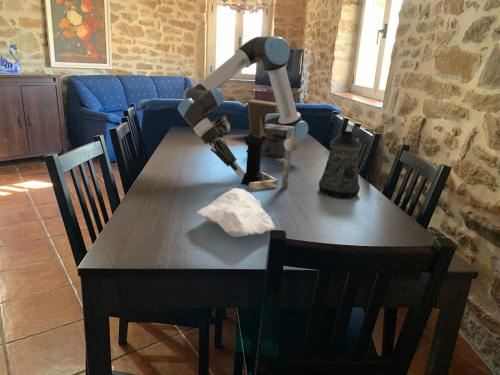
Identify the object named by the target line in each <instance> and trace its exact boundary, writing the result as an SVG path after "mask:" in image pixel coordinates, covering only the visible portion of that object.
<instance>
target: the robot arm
mask: <svg viewBox="0 0 500 375" xmlns="http://www.w3.org/2000/svg"><path fill="white" fill-rule="evenodd" d="M290 54H291V48H290V45H289V43H288V41H287V40H286V39H285V38H283V37H281V36H276V35H272V36H256V37H253V38H251V39H250V40H248V41H246V42H245V43H244V44H242V45H241V46H240V47H239V48H237V49H236V50H235V53H234V55H232V56H231V57H229V58H228V59H227V60H226V61H224V62H223V63H222V64H221V65H220V66H218V67H217V68H216V69H214V71H212V72H211V73H209V75H207V76H206V77H205V78H204V79H203V80H201V81H200V82H199V83H197V84H196V85H195V86H193V87H187V88H186V89H184V91H183V93H182V99H183V101H181V102H180V103H179V105H178V106H177V110H178V112H179V113H180V115H181V116H182V118H183V119H184V120H185V121H186V122H187V123H188V125H189V126H190V127H191V129H193V131H194V133H195V134H197V135H198V137H200V139H201V141H202V142H203V143H204V144H205V145H207V144H209V145H210V147H211V148H210V151H211V152H212V153H213V154H215V156H217V158H218V159H220V160H221V161H222V162H223V164H225V166H226V167H228V168H229V167H230V168H231V169H232V170H233V171H234V174H236V175H237V177H238V178H241V177H242V176H243V175H244V174H245V173H246V171H244V170H243V168H242V167H241V166H240V165H239V163H237V158H236V156H235V155H234V153H233V152H232V150H231V149H230V147H229V146H228V145H227V142H226V140H223V141H222V139H221V138H220V137H219V132H218V131H217V129H216V128H215V127H212V126H213V124H212V122H211V120H210V119H209V118H208V117H207V116H206V115H207V114H209V113H210V112H211V111H214V110H215V109H217V107H220V105H222V104H223V103H224V100H225V98H224V95H223V92H222V91H221V90H220V88H221V87H223V86H224V85H225V84H226V83H228V81H231V80H232V78H234V77H235V76H236V75H237V74H238V73H240V72H241V71H242V70H243V69H244V68H249V67H250V66H252V65H253V64H261V65H262V69H263V71H264V72H266V73H268V77H269V81H270V85H271V88H272V91H273V95H274V99H275V103H277V107H278V110H279V114H267V115H266V117H265V124H264V128H265V127H266V124H272V125H281V126H292V127H294V130H293V137H294V138H296V139H297V141H298V144H299V143H302V142H303V140H305V138H306V137H307V134H308V132H309V125H308V123H307V122H306V121H305V120H302V115H301V113H300V112H298V111H297V108H296V104H295V100H294V96H293V91H292V89H291V88H292V87H291V84H290V79H289V76H288V73H287V72H288V71H287V68H286V67H287V65H288V60H289V58H290ZM264 136H266V139H265V144H264V145H262V149H263V152H261V157H267V158H270V159H271V158H272V159H281V158H285V148H284V141H285V140H286V139H287V130H278V129H269V128H267V133H264Z"/></svg>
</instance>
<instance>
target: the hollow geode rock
mask: <svg viewBox="0 0 500 375" xmlns="http://www.w3.org/2000/svg"><path fill="white" fill-rule="evenodd" d="M227 118H228V117H227V115H226V114H223V115H222V116H219V117H218V118H216V119H214V121H212V122H211V123H212V124H213V126H212V127H215V128H216V129H217V131H218V132H219V135H218V137H223V136H225V135H226V134H229V133H230V130H231V124H230V123H229V121H228V120H227Z"/></svg>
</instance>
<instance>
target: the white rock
mask: <svg viewBox="0 0 500 375" xmlns="http://www.w3.org/2000/svg"><path fill="white" fill-rule="evenodd" d="M196 213H197V215H199V216H200V217H202V218H203V219H206V220H208V221H210V222H211V223H215V224H217V225H219V226H220V228H222V230H223V231H224V232H225V233H227V234H228V235H229V236H231V237H234V238H236V237H237V238H238V237H247V236H249V235H250V236H253V235H255V236H256V235H263V234H264V233H265V232H269V231H270V230H273V231H274V230H275V228H276V226H275V225H274V221H272V217H271V216H270V215H269V214H268V212H266V211H265V209H264V208H262V205H261V202H260V200H259V199H256V198H255V196H253V195H252V193H250V192H249V191H247V190H245V189H243V188H237V187H234V188H230V190H228V191H226V192H224V193H223V194H221V195H220V196H217V197H216V199H215V200H213V201H212V202H211V203H210V204H208V205H207V206H204V207H202V208H201V209H199V210H198V211H197V212H196ZM270 232H271V231H270Z"/></svg>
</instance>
